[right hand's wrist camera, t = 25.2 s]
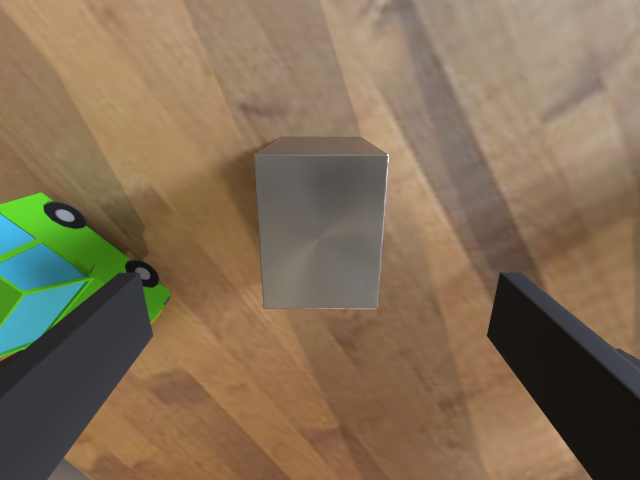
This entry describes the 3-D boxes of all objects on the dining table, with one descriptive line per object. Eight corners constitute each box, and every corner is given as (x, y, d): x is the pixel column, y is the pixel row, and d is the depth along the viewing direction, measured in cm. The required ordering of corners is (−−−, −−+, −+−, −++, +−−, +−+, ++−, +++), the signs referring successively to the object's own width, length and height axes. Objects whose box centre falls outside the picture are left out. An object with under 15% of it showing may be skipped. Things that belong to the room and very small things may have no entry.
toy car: (127, 346, 34) (54, 434, 25) (1, 261, 31) (-137, 326, 22) (188, 280, 32) (133, 351, 22) (58, 180, 28) (-71, 214, 19)
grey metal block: (283, 238, 30) (263, 309, 20) (280, 136, 27) (253, 153, 17) (357, 239, 30) (378, 309, 20) (362, 137, 27) (389, 154, 17)
